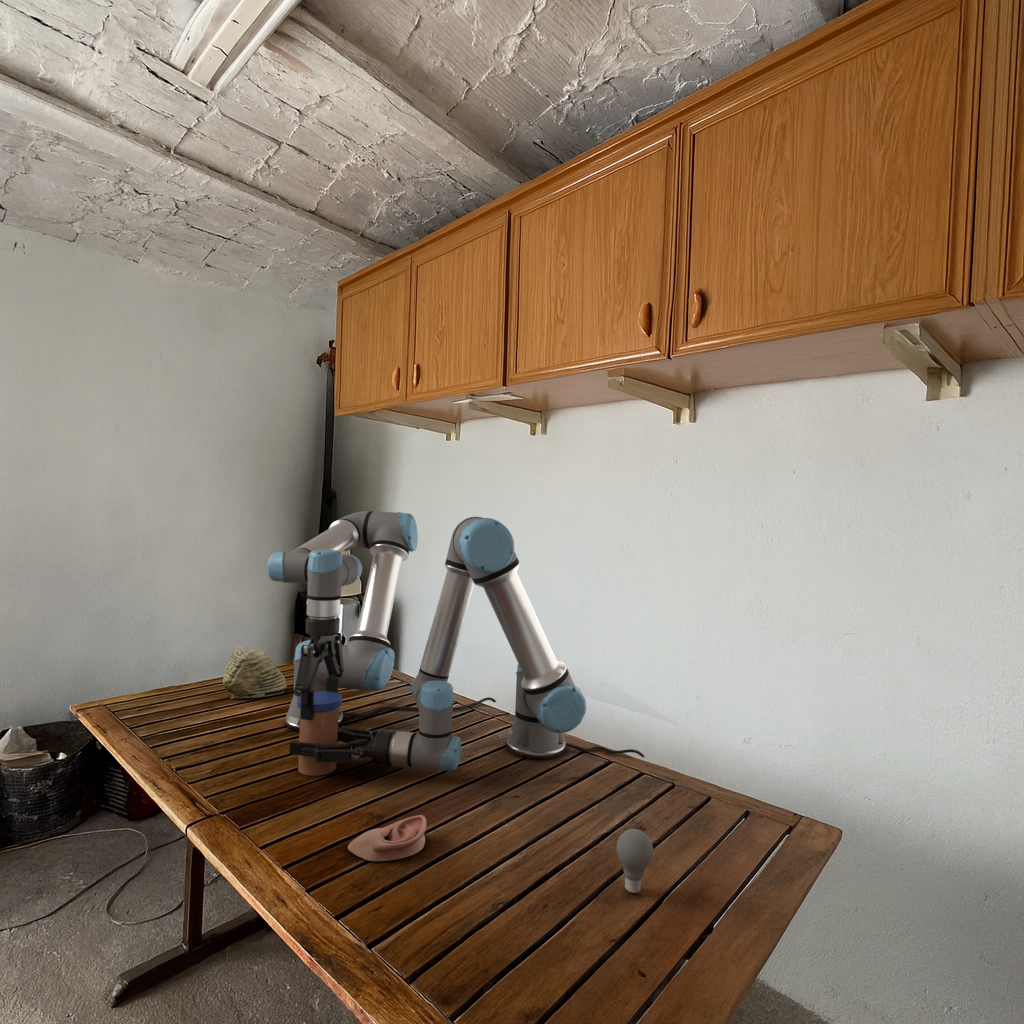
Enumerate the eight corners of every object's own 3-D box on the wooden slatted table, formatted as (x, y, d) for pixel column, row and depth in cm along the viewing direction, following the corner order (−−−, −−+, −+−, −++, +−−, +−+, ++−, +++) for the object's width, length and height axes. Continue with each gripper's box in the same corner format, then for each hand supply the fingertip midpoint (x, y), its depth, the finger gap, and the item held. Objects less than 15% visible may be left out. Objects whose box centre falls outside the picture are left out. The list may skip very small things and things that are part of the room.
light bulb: (610, 879, 108) (613, 822, 108) (644, 879, 109) (647, 822, 109) (619, 902, 102) (622, 840, 102) (655, 901, 103) (658, 840, 103)
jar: (316, 779, 142) (319, 709, 142) (289, 769, 146) (292, 701, 146) (344, 765, 149) (347, 699, 149) (317, 757, 154) (320, 692, 153)
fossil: (218, 695, 195) (220, 647, 195) (278, 685, 208) (279, 640, 207) (228, 703, 189) (230, 653, 188) (289, 692, 201) (290, 645, 201)
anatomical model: (340, 834, 112) (368, 804, 123) (339, 856, 112) (367, 824, 123) (411, 845, 109) (433, 813, 120) (410, 868, 109) (432, 834, 120)
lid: (349, 706, 147) (349, 699, 147) (308, 714, 140) (308, 707, 140) (330, 695, 155) (330, 688, 154) (290, 702, 148) (290, 695, 148)
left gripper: (333, 607, 159) (330, 695, 159) (279, 623, 137) (275, 725, 138) (361, 610, 157) (357, 699, 158) (310, 627, 135) (306, 730, 136)
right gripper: (377, 785, 135) (276, 775, 138) (405, 746, 156) (317, 739, 159) (379, 750, 135) (278, 741, 137) (406, 716, 156) (319, 709, 159)
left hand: (319, 711), depth 148 cm, fingers closed on lid, 10 cm apart
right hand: (299, 740), depth 148 cm, fingers closed on jar, 9 cm apart
